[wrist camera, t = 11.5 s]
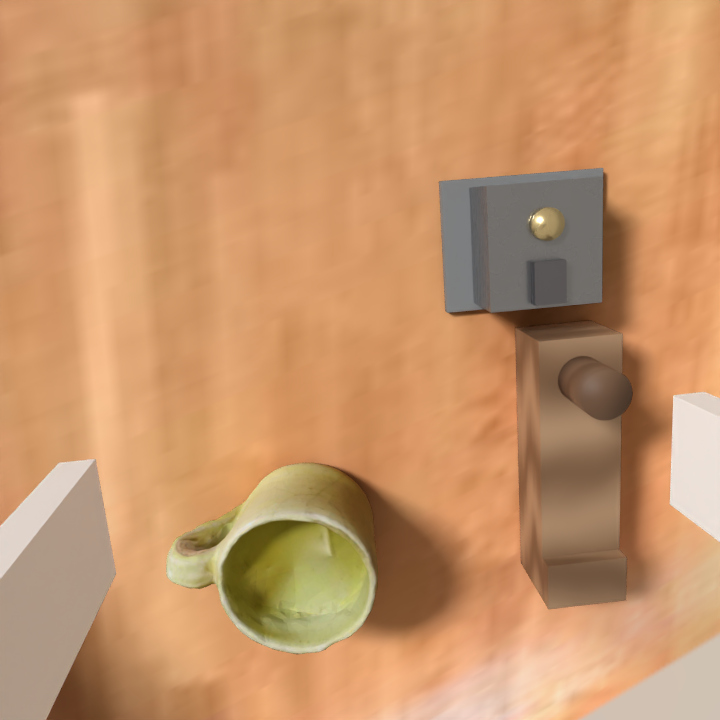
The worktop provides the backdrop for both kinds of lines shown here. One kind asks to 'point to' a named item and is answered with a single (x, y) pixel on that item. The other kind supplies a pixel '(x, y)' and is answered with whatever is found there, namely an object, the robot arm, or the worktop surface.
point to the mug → (288, 559)
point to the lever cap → (537, 244)
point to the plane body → (571, 460)
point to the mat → (459, 230)
